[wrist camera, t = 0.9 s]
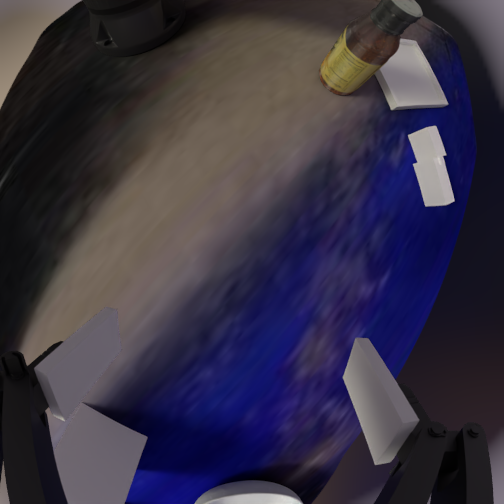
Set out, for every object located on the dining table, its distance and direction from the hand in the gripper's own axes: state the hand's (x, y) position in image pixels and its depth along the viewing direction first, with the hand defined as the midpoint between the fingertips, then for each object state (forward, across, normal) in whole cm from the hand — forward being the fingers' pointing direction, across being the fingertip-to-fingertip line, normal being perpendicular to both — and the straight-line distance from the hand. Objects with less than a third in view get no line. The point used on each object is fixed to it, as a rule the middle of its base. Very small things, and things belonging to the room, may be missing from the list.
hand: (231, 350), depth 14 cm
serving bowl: (+14, +4, -47) cm, 49 cm away
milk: (+13, -21, -33) cm, 41 cm away
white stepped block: (+27, +26, +16) cm, 41 cm away
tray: (+28, +23, +33) cm, 49 cm away
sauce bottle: (+26, +10, +26) cm, 38 cm away
